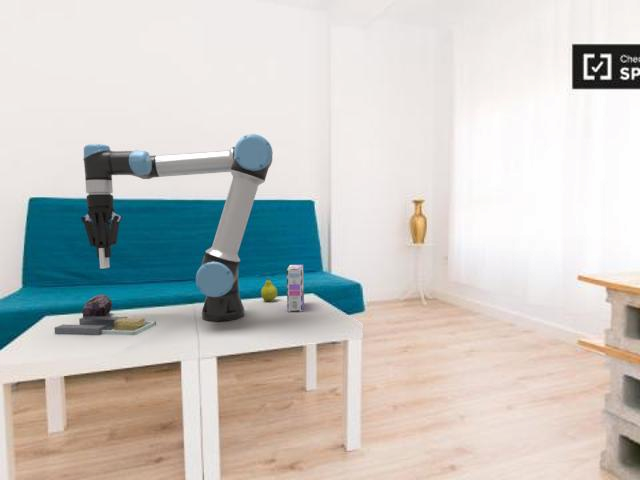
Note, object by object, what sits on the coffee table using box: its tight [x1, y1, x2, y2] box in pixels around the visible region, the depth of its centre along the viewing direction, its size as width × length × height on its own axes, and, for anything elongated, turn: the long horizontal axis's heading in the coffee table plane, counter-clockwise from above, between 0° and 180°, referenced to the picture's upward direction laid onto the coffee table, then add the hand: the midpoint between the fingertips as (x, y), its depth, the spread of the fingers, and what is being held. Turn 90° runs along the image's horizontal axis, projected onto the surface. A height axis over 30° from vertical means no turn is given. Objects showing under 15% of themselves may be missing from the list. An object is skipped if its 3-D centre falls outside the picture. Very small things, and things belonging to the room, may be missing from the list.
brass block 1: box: [113, 317, 134, 331], centre depth 131 cm, size 4×4×4 cm
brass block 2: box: [125, 317, 146, 331], centre depth 131 cm, size 4×4×4 cm
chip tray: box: [101, 320, 157, 336], centre depth 131 cm, size 11×12×2 cm
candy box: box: [286, 264, 305, 313], centre depth 162 cm, size 14×6×16 cm, turn 179°
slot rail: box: [54, 316, 128, 336], centre depth 133 cm, size 15×14×4 cm
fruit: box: [260, 273, 278, 302], centre depth 176 cm, size 7×7×12 cm
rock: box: [81, 294, 113, 318], centre depth 149 cm, size 12×9×10 cm
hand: (104, 267), depth 133 cm, fingers closed
